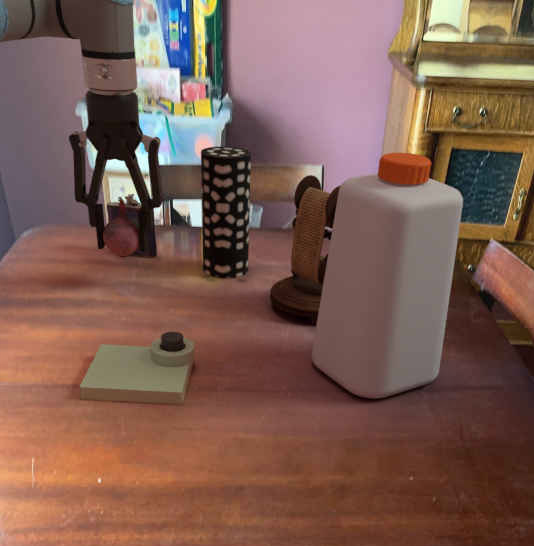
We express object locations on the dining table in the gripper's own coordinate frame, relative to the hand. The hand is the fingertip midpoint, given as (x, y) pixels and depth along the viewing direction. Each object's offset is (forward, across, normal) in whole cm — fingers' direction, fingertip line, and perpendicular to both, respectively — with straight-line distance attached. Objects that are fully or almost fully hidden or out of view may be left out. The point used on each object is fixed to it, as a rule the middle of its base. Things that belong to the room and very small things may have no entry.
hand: (123, 247), depth 113 cm
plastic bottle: (+6, +40, -26) cm, 48 cm away
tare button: (+3, +12, -29) cm, 31 cm away
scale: (+6, +8, -32) cm, 34 cm away
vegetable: (+2, 0, 0) cm, 2 cm away
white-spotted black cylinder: (+7, +16, +10) cm, 20 cm away
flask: (+7, -2, +16) cm, 17 cm away
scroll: (+6, +32, -5) cm, 33 cm away
